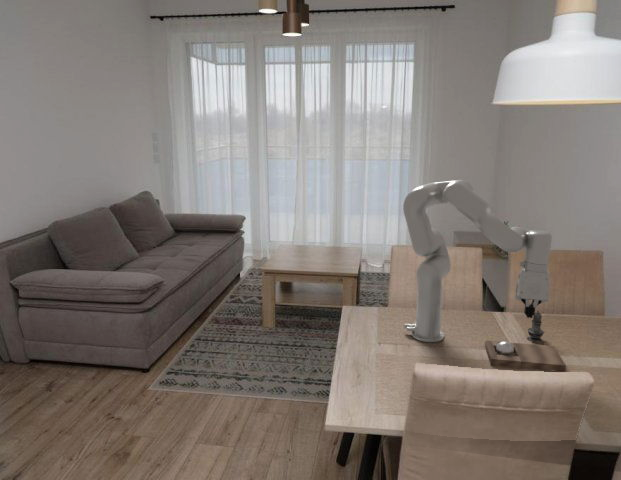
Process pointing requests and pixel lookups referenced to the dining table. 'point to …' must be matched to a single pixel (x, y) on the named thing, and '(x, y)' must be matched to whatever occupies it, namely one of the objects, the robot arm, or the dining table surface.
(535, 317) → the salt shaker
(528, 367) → the board
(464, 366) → the dining table surface
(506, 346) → the ball
